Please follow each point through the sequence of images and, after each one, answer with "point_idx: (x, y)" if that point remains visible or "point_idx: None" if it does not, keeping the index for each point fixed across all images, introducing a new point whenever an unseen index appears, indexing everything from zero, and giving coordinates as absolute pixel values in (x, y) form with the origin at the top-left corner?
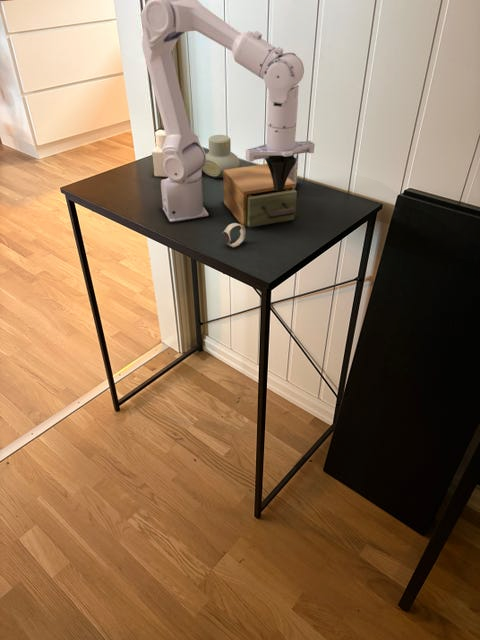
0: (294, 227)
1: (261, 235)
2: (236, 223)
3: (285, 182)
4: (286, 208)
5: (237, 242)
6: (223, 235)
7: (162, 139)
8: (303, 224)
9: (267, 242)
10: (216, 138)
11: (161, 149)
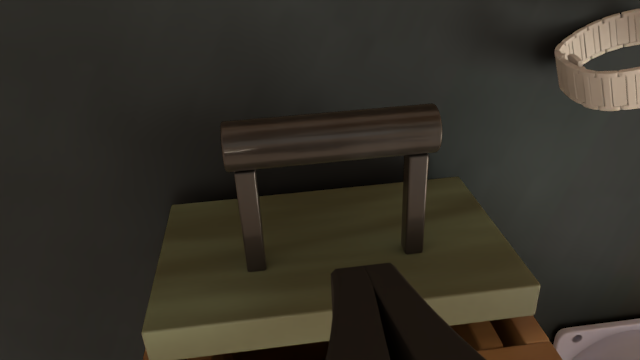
0: (190, 144)
1: (410, 104)
2: None
3: (336, 321)
4: (258, 201)
5: (579, 51)
6: None
7: None
8: (124, 165)
9: (414, 15)
10: None
11: None
